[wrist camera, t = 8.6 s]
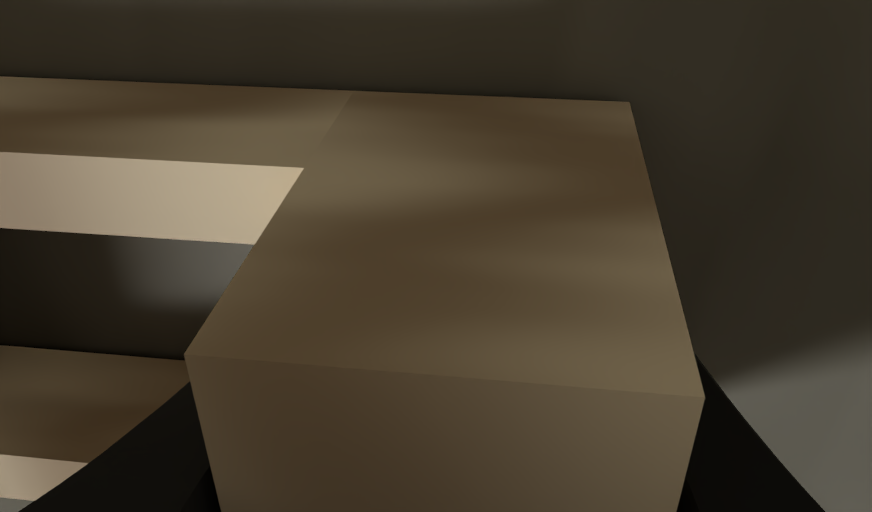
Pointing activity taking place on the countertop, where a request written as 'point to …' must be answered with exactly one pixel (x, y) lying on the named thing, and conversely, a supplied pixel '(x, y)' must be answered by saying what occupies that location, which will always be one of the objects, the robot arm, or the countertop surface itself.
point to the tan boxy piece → (367, 296)
